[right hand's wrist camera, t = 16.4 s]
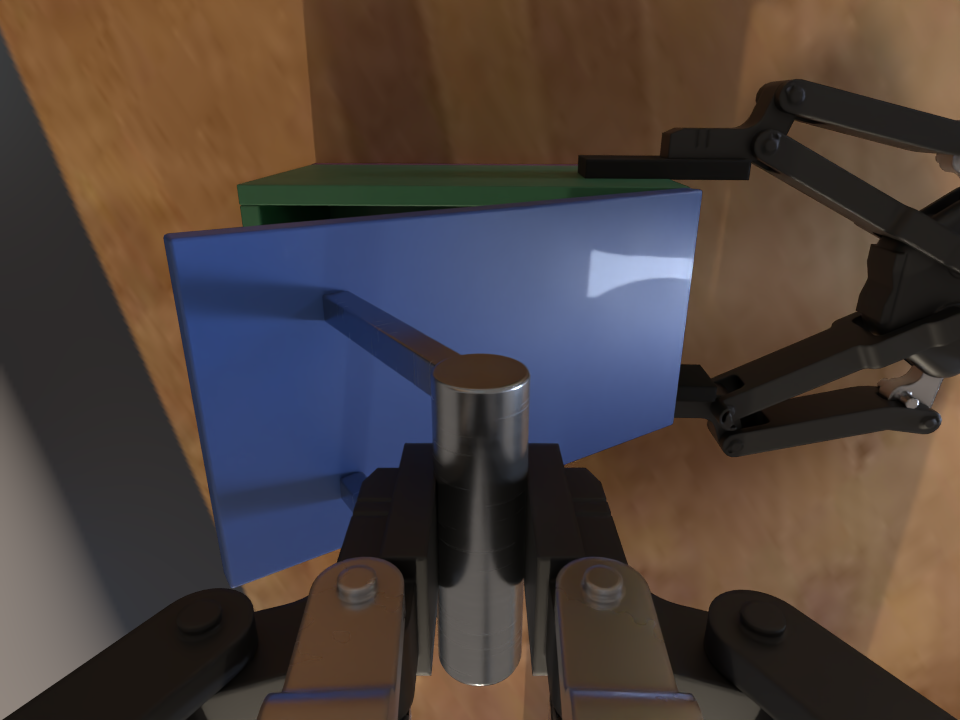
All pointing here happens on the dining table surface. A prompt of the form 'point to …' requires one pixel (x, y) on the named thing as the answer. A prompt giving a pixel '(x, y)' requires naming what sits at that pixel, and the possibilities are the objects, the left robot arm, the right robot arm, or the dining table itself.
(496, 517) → the lid
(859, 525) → the dining table surface
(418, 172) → the chest
